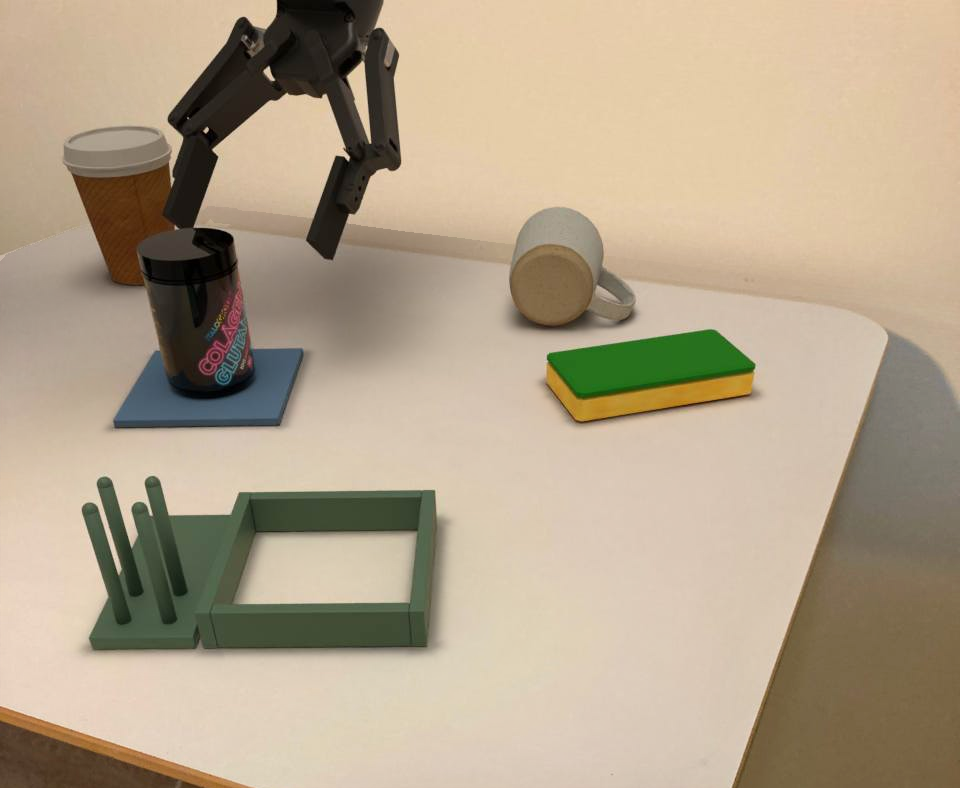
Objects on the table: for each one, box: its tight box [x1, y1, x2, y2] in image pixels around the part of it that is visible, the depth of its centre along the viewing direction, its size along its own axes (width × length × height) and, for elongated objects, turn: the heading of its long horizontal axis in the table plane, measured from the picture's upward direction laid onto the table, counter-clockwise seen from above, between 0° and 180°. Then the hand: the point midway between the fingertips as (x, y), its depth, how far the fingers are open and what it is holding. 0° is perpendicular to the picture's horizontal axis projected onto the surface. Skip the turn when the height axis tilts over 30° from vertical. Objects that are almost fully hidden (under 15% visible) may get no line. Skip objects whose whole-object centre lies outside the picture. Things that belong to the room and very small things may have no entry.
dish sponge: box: [545, 328, 757, 422], centre depth 77 cm, size 7×14×2 cm, turn 106°
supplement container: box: [136, 227, 256, 399], centre depth 76 cm, size 7×7×10 cm
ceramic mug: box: [508, 206, 637, 327], centre depth 87 cm, size 11×8×8 cm
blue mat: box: [112, 347, 304, 428], centre depth 79 cm, size 12×12×1 cm
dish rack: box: [81, 475, 438, 650], centre depth 57 cm, size 18×12×8 cm, turn 89°
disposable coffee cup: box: [61, 125, 176, 286], centre depth 95 cm, size 10×10×12 cm
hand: (245, 237), depth 78 cm, fingers open, 13 cm apart
